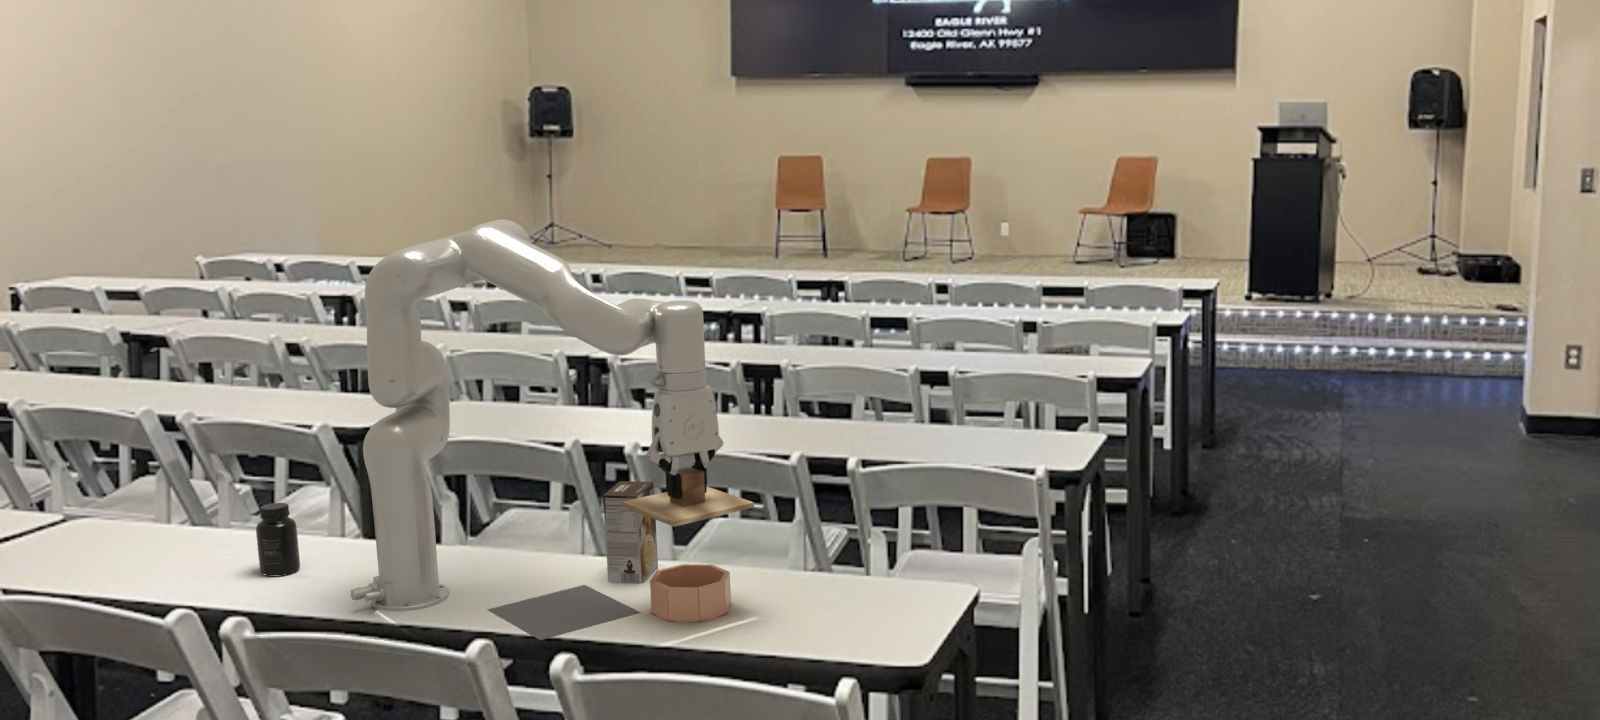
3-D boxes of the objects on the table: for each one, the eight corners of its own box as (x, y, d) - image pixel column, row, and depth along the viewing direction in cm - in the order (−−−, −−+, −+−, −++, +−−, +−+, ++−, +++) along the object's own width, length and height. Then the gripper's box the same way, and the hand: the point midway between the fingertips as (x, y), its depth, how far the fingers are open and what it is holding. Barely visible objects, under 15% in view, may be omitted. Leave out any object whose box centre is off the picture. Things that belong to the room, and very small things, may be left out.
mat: (540, 643, 233) (540, 639, 233) (487, 613, 248) (487, 609, 247) (641, 615, 244) (641, 612, 244) (584, 588, 258) (584, 584, 258)
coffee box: (624, 568, 268) (619, 479, 265) (659, 570, 267) (654, 480, 264) (607, 586, 259) (602, 494, 256) (643, 587, 258) (638, 495, 255)
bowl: (680, 631, 237) (679, 594, 236) (639, 611, 246) (638, 575, 245) (743, 613, 244) (742, 577, 243) (701, 594, 254) (700, 559, 252)
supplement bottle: (308, 568, 273) (302, 503, 271) (277, 579, 267) (271, 513, 265) (283, 562, 277) (277, 498, 274) (251, 573, 271) (245, 508, 269)
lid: (673, 526, 232) (672, 489, 231) (622, 506, 243) (620, 471, 242) (754, 507, 241) (752, 471, 240) (700, 488, 252) (699, 454, 251)
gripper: (649, 392, 230) (655, 509, 234) (739, 376, 240) (744, 489, 244) (623, 385, 236) (629, 499, 240) (712, 369, 246) (717, 480, 250)
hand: (687, 493), depth 242 cm, fingers closed on lid, 4 cm apart
